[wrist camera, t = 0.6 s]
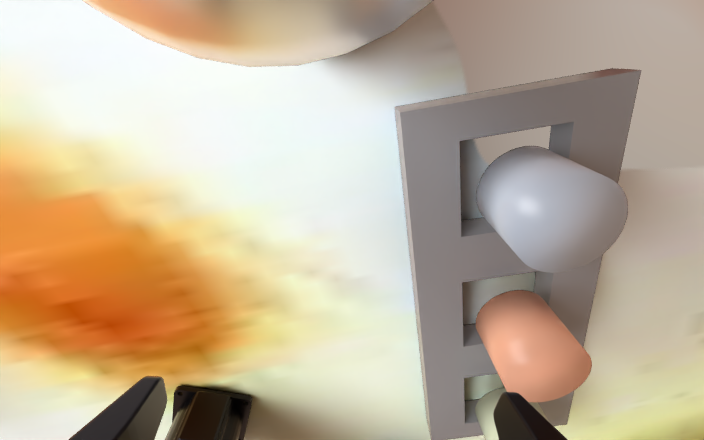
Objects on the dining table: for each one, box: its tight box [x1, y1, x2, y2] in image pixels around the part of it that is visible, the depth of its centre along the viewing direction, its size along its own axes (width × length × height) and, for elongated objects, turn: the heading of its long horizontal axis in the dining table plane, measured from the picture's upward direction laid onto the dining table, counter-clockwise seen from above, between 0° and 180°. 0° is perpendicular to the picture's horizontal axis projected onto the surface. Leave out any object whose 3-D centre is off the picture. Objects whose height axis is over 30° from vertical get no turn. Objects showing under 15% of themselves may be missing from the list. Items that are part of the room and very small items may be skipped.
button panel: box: [395, 68, 641, 440], centre depth 24 cm, size 29×12×2 cm, turn 9°
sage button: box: [475, 387, 547, 440], centre depth 25 cm, size 5×5×4 cm
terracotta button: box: [476, 290, 592, 402], centre depth 20 cm, size 5×5×4 cm
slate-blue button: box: [476, 146, 628, 273], centre depth 16 cm, size 5×5×4 cm
